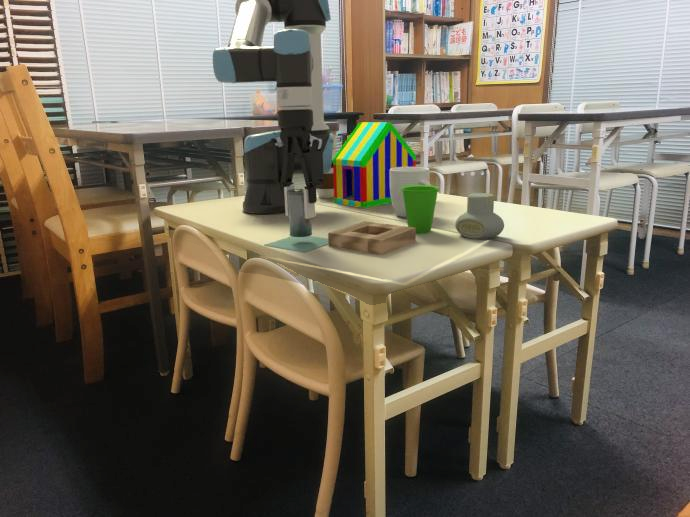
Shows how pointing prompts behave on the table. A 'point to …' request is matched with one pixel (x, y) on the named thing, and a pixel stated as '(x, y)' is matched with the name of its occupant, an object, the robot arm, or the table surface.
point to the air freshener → (480, 218)
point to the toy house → (369, 164)
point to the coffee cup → (327, 185)
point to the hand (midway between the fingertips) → (300, 216)
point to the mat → (299, 243)
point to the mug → (405, 184)
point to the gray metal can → (298, 214)
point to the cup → (420, 206)
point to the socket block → (372, 237)
